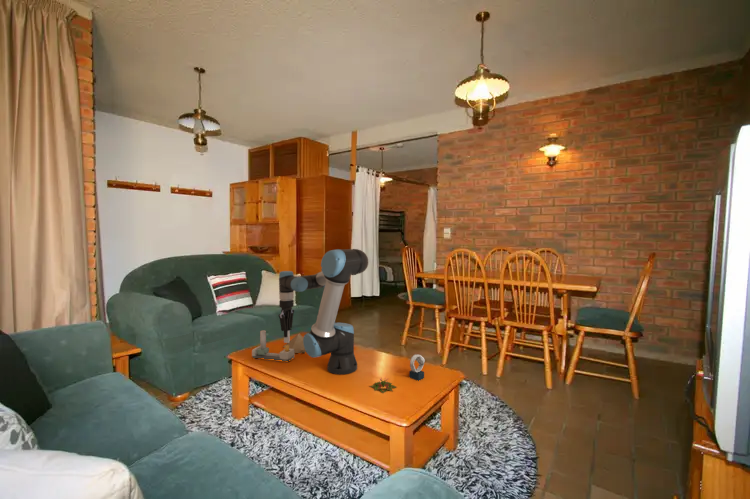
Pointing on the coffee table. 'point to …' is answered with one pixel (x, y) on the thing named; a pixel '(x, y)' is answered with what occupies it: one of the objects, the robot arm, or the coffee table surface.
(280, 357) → the rail bench
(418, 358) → the watch
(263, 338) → the carriage
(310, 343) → the robot arm
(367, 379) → the coffee table surface
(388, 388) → the green leafy ornament
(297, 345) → the model pyramid
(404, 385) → the coffee table surface
